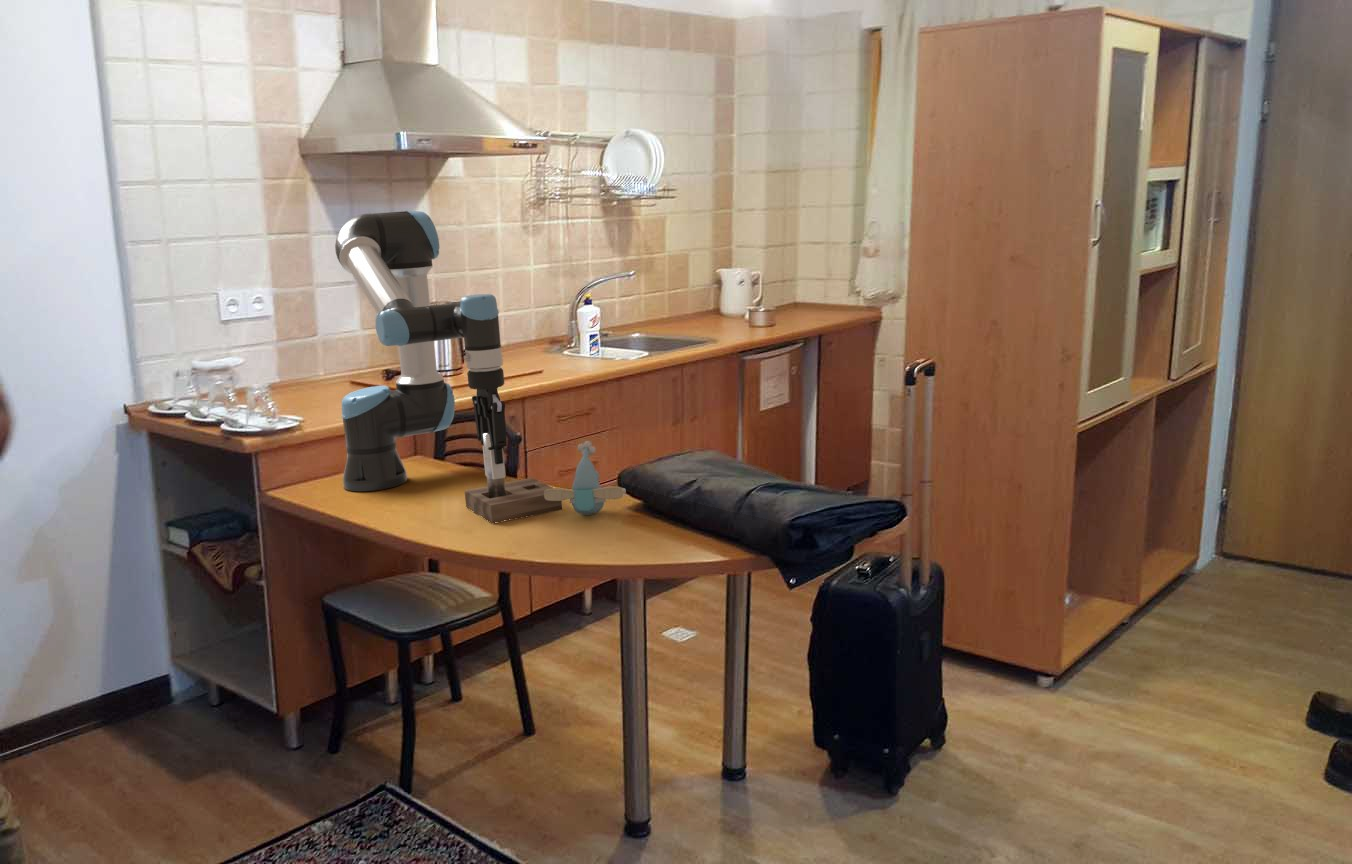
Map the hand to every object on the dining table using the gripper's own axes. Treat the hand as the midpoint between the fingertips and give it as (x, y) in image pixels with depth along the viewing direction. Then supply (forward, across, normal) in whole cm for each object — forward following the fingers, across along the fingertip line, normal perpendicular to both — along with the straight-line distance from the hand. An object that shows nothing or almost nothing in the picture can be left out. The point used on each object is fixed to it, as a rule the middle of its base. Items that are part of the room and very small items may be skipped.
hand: (495, 476), depth 238 cm
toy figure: (+8, +15, +14) cm, 22 cm away
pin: (+4, 0, 0) cm, 4 cm away
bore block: (+8, 0, +4) cm, 9 cm away
